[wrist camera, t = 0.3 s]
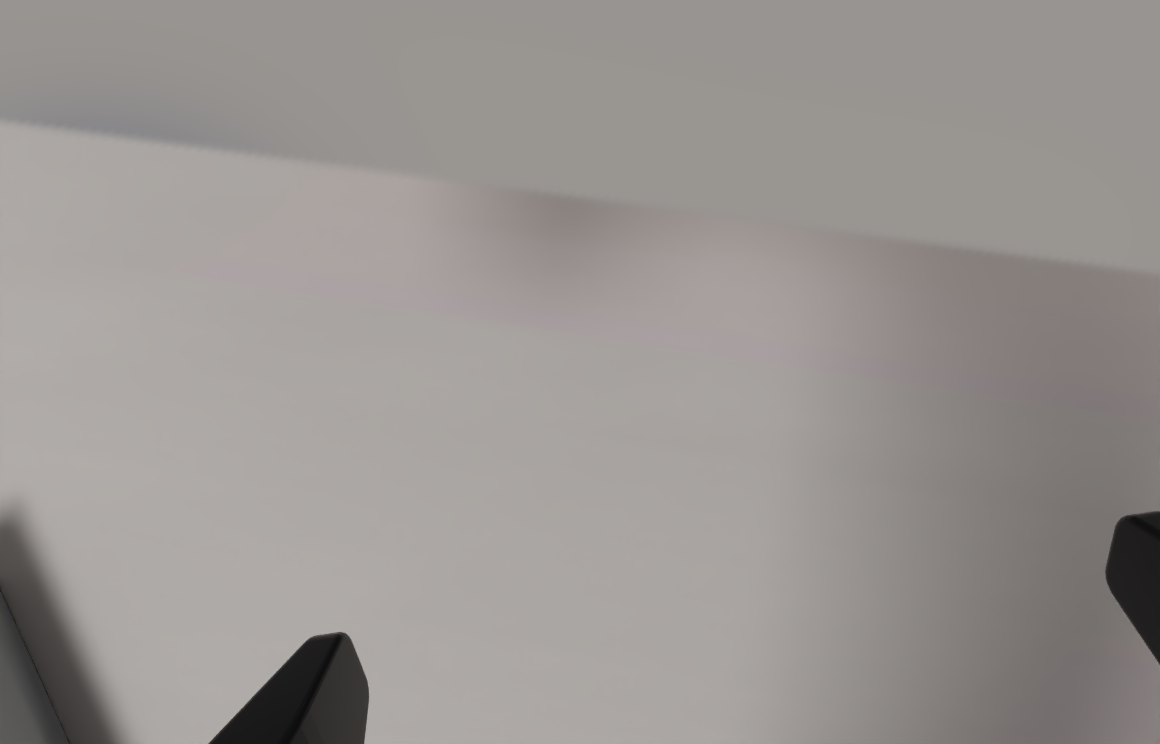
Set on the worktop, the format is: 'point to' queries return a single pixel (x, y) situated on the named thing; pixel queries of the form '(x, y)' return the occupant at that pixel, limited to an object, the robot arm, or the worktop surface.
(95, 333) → the worktop surface
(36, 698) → the tray
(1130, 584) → the robot arm
